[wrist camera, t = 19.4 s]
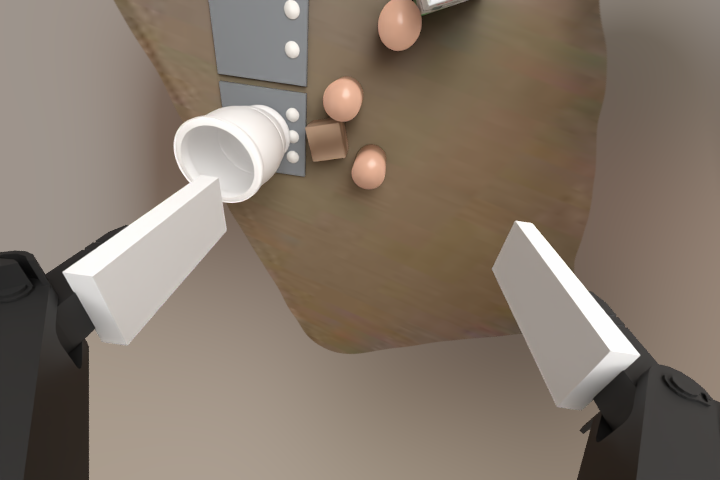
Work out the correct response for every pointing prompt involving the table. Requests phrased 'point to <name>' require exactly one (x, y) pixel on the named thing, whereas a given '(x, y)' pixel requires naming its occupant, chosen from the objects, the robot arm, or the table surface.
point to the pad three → (286, 105)
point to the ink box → (434, 5)
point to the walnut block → (327, 139)
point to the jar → (233, 148)
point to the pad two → (261, 39)
